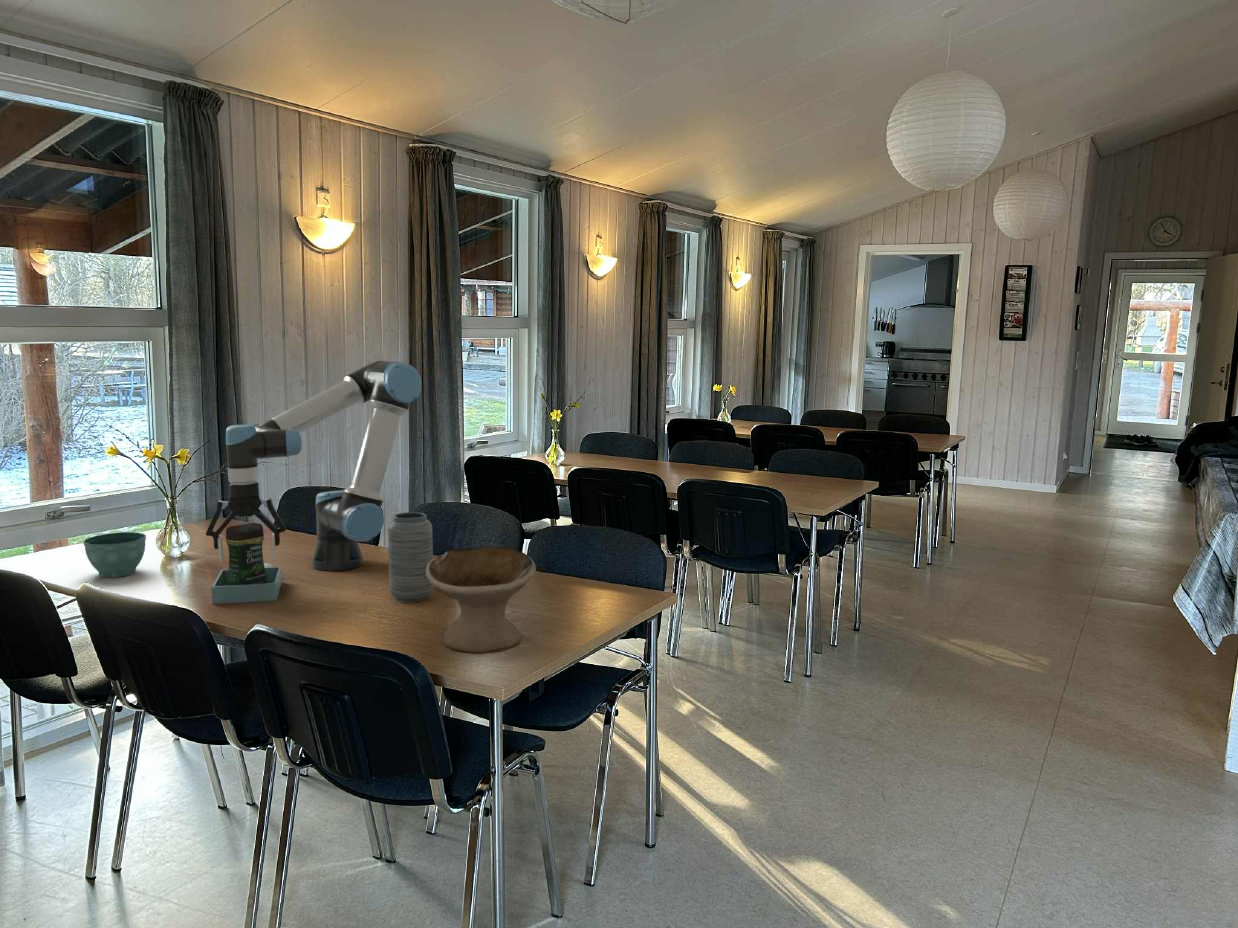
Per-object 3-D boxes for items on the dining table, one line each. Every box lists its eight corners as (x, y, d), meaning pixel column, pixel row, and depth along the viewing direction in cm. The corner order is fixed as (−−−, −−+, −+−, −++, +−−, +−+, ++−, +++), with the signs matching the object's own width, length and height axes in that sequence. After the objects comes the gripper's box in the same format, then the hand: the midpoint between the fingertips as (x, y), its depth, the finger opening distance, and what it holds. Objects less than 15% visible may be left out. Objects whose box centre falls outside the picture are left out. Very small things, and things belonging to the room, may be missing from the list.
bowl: (404, 650, 213) (403, 565, 210) (461, 619, 236) (460, 542, 233) (504, 666, 204) (504, 577, 201) (553, 631, 227) (553, 552, 224)
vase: (386, 594, 257) (384, 512, 253) (428, 590, 261) (427, 509, 258) (393, 606, 246) (391, 520, 243) (437, 601, 251) (436, 517, 247)
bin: (281, 582, 267) (281, 566, 266) (276, 600, 250) (276, 583, 249) (221, 585, 263) (221, 569, 262) (212, 604, 246) (211, 587, 245)
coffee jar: (241, 596, 250) (236, 528, 248) (223, 592, 255) (219, 525, 252) (272, 588, 258) (268, 522, 255) (255, 583, 263) (250, 519, 260)
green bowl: (82, 583, 263) (80, 546, 261) (88, 569, 278) (86, 534, 276) (146, 578, 270) (144, 541, 268) (149, 565, 284) (147, 530, 283)
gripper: (293, 478, 259) (297, 552, 262) (195, 481, 252) (201, 558, 255) (291, 482, 252) (295, 559, 255) (191, 486, 245) (196, 565, 248)
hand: (248, 558), depth 255 cm, fingers open, 13 cm apart
